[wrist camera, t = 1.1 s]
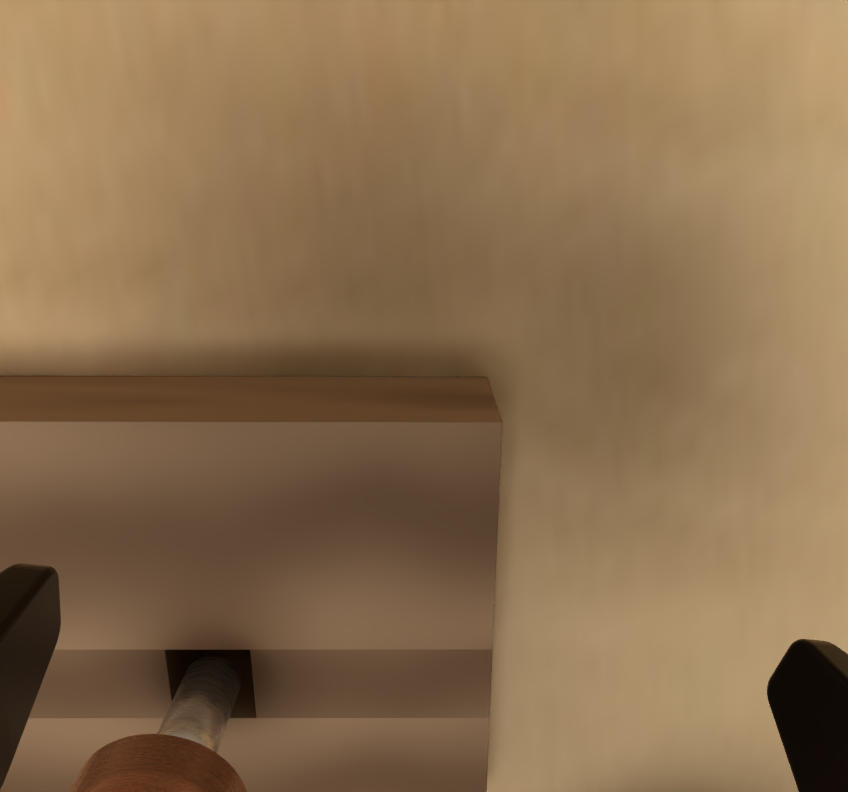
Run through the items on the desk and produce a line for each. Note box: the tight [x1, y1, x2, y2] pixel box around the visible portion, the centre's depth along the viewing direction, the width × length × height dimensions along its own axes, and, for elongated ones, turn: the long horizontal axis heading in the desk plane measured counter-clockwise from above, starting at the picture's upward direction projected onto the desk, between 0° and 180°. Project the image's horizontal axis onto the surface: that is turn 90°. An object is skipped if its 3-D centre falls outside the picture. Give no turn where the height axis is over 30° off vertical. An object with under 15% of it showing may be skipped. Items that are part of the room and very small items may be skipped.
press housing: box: [0, 376, 502, 792], centre depth 21 cm, size 16×16×4 cm
